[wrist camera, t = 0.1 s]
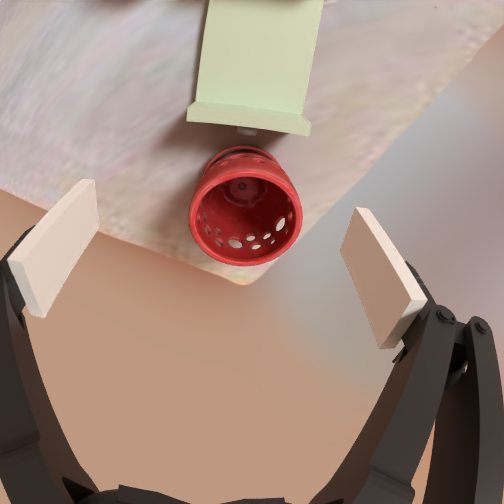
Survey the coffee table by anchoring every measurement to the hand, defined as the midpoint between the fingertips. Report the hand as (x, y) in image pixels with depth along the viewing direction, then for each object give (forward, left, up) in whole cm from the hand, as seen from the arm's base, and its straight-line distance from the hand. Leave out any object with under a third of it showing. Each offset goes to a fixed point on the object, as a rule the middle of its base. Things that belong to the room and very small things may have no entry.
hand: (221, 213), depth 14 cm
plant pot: (+10, +3, -28) cm, 30 cm away
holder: (-11, +2, -28) cm, 30 cm away
